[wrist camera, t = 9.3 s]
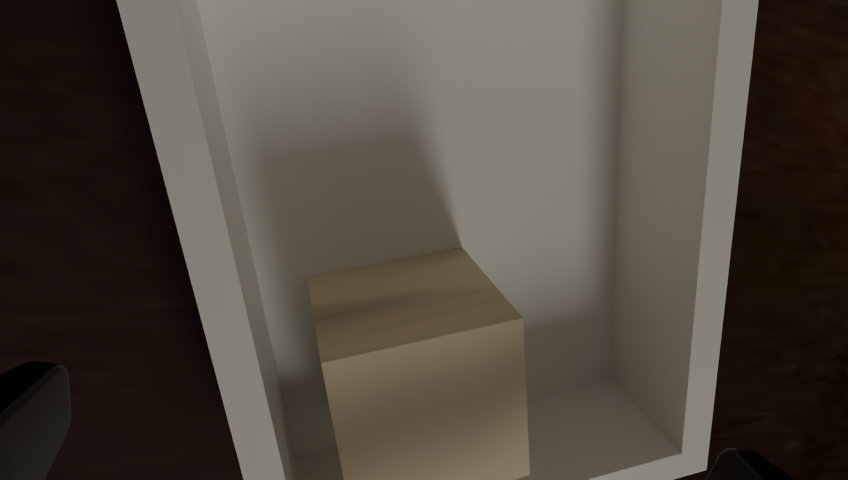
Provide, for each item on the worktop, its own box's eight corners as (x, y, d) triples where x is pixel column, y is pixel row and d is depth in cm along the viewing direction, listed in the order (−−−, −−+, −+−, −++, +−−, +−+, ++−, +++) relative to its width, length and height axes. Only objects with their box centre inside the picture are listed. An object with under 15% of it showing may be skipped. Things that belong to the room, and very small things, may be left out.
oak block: (472, 376, 21) (530, 475, 16) (332, 409, 20) (352, 524, 15) (461, 246, 19) (523, 317, 15) (306, 276, 18) (321, 363, 14)
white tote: (622, 384, 24) (706, 470, 19) (271, 470, 21) (273, 594, 17) (643, -129, 17) (778, -182, 13) (134, -100, 15) (75, -152, 10)
